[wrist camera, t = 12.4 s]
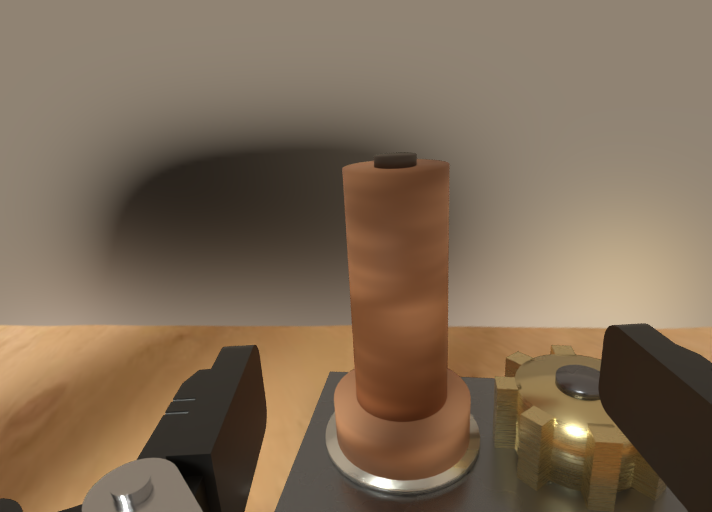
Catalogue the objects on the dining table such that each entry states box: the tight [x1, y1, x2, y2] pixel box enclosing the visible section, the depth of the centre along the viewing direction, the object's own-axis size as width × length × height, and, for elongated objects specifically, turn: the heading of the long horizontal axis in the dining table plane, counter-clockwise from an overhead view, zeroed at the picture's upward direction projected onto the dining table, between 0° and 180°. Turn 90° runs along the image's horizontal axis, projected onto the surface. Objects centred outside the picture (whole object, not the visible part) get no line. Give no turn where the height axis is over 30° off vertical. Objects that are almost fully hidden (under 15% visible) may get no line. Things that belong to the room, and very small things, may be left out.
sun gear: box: [493, 345, 667, 512], centre depth 20 cm, size 7×7×3 cm
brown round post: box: [334, 152, 471, 481], centre depth 19 cm, size 6×6×12 cm
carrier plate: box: [275, 372, 688, 512], centre depth 21 cm, size 16×10×1 cm, turn 80°
